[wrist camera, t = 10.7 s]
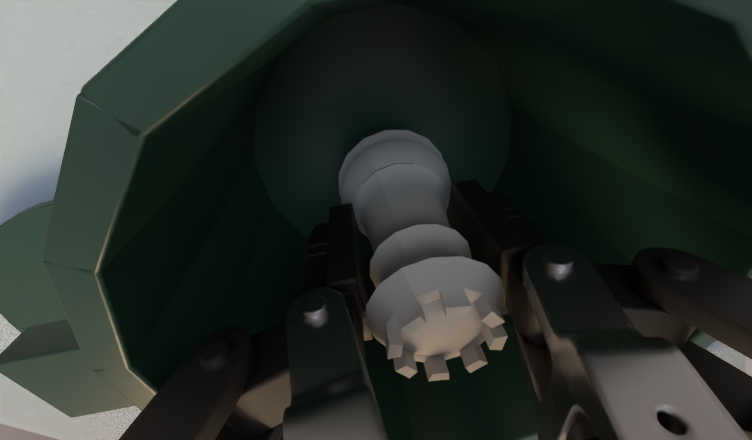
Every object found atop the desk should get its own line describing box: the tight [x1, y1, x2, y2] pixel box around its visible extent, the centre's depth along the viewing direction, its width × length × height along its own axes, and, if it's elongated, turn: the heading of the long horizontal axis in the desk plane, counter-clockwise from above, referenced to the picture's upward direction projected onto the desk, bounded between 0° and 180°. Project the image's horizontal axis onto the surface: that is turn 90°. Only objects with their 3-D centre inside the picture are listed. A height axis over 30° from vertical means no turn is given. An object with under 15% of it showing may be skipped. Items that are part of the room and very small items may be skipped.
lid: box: [0, 200, 67, 333], centre depth 16 cm, size 14×14×6 cm
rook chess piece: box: [339, 130, 508, 381], centre depth 10 cm, size 4×4×8 cm
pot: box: [0, 0, 752, 440], centre depth 11 cm, size 13×19×10 cm
